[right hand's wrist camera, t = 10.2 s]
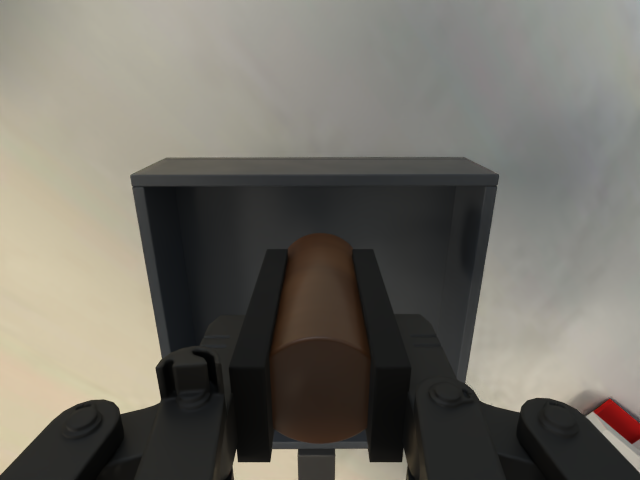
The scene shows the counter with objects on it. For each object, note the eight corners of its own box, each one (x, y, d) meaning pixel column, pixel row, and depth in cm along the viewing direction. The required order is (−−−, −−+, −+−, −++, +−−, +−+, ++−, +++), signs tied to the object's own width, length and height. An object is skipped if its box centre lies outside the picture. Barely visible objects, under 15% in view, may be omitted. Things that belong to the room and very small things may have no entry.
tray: (415, 538, 31) (430, 611, 26) (218, 540, 30) (203, 612, 26) (465, 157, 20) (504, 176, 16) (165, 157, 20) (124, 176, 16)
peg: (283, 305, 17) (257, 446, 10) (278, 233, 16) (246, 339, 9) (360, 303, 17) (384, 444, 10) (360, 231, 15) (388, 336, 9)
